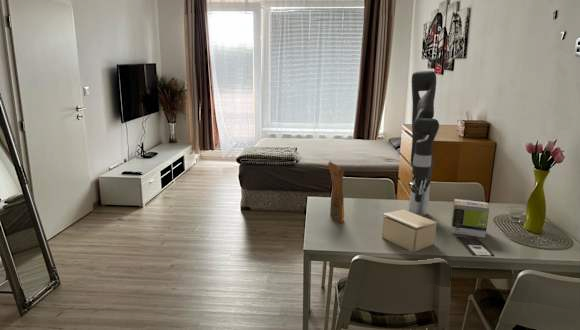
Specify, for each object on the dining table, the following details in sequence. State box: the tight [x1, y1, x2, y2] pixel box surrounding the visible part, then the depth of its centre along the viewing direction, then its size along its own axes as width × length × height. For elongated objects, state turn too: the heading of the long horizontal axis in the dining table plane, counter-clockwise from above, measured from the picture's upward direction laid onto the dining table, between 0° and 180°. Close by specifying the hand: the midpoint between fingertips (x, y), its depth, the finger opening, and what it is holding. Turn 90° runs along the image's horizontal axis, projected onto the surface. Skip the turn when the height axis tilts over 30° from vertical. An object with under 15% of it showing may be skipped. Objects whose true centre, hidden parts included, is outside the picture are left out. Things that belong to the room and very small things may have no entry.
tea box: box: [450, 198, 490, 239], centre depth 202 cm, size 15×10×15 cm, turn 71°
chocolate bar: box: [456, 236, 495, 257], centre depth 189 cm, size 9×1×18 cm
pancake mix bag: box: [327, 160, 345, 224], centre depth 214 cm, size 7×19×28 cm, turn 8°
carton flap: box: [382, 209, 438, 229], centre depth 189 cm, size 14×19×1 cm
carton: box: [381, 216, 438, 253], centre depth 191 cm, size 14×18×10 cm
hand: (417, 201), depth 190 cm, fingers closed
